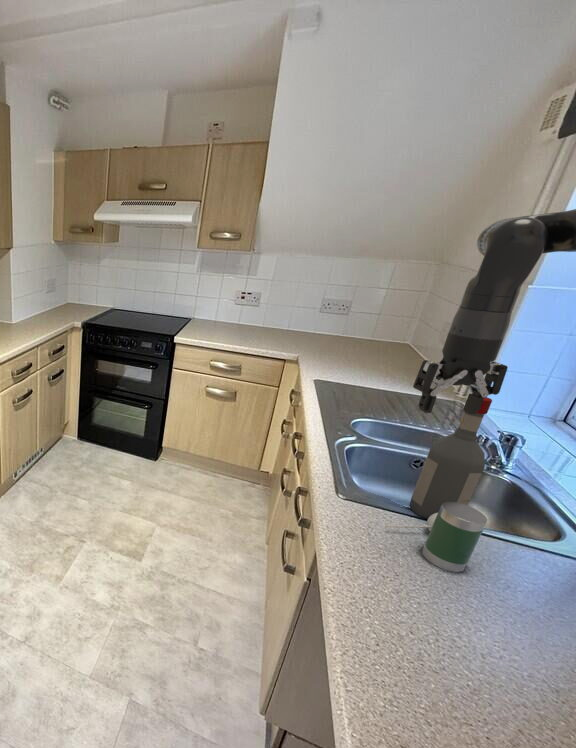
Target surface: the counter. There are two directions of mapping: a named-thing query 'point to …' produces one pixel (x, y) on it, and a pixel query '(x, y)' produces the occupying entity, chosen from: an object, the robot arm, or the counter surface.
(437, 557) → the can
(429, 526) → the lollipop
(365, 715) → the counter surface
